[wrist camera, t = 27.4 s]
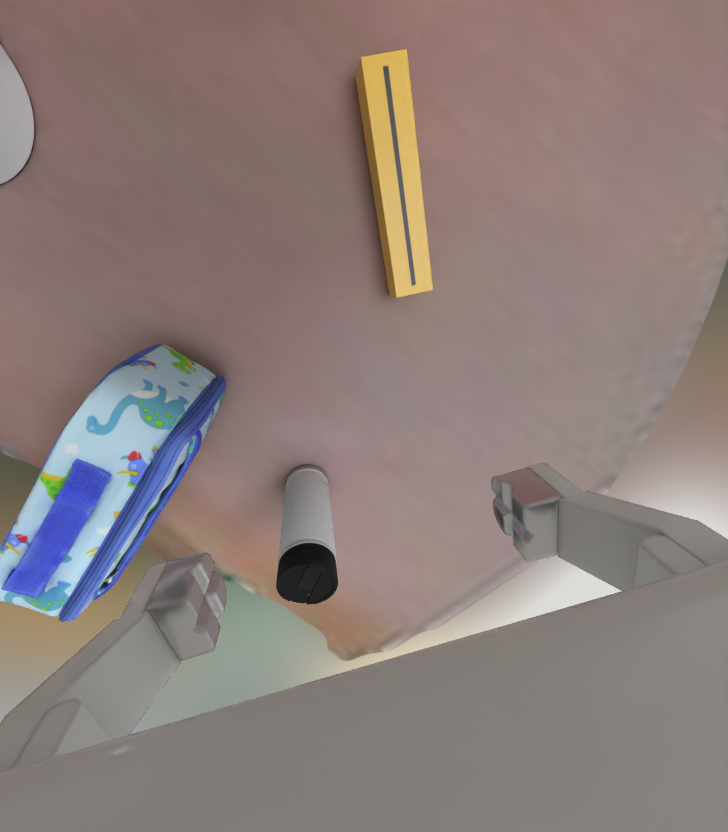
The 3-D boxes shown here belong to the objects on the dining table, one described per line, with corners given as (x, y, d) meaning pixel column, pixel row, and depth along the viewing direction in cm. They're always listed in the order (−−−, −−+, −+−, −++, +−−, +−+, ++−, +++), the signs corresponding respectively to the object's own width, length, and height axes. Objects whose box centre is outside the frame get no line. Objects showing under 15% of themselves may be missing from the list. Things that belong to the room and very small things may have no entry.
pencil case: (423, 288, 46) (433, 290, 42) (389, 296, 46) (396, 298, 42) (397, 70, 38) (406, 48, 34) (355, 78, 37) (360, 56, 34)
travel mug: (335, 468, 54) (349, 570, 35) (319, 504, 56) (326, 618, 37) (294, 457, 52) (288, 557, 34) (280, 494, 54) (266, 608, 36)
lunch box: (153, 521, 53) (65, 663, 33) (76, 488, 49) (-73, 627, 30) (245, 378, 47) (202, 450, 28) (165, 330, 43) (52, 374, 24)
